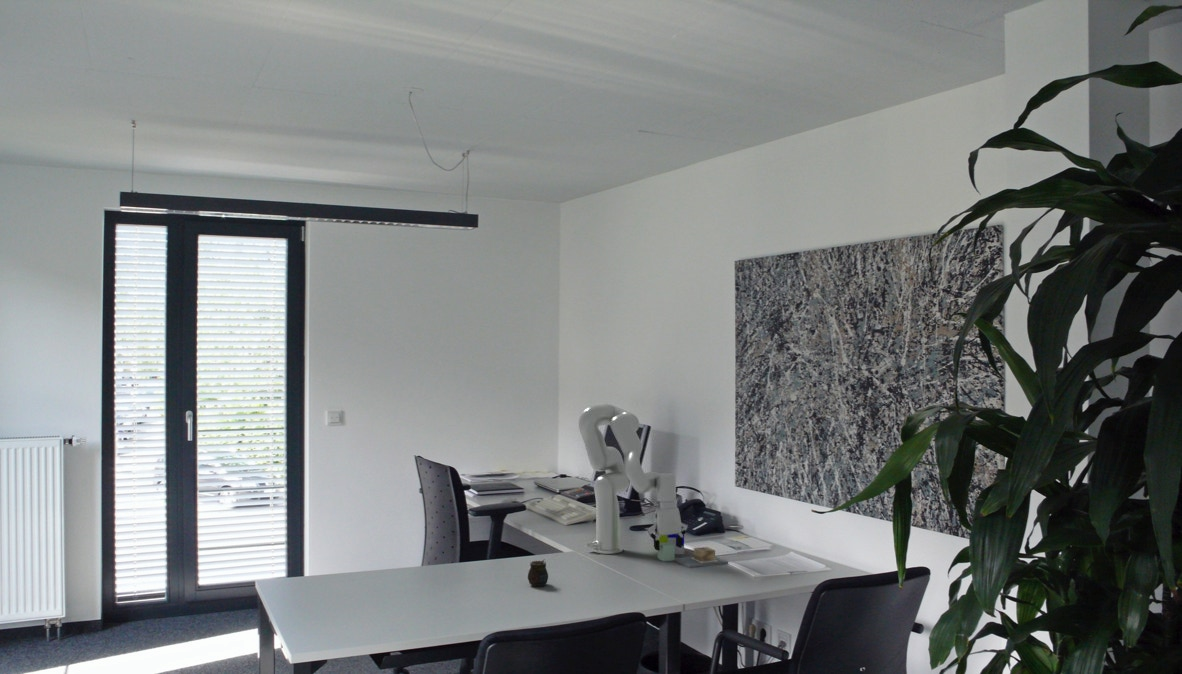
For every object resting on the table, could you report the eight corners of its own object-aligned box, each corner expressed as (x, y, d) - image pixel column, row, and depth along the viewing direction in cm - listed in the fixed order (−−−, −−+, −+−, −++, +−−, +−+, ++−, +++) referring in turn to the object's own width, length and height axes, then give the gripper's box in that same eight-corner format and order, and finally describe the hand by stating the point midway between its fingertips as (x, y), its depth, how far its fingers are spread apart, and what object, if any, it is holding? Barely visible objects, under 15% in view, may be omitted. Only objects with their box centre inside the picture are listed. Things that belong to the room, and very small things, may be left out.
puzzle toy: (684, 554, 355) (684, 529, 355) (659, 554, 355) (659, 529, 355) (682, 548, 365) (682, 524, 365) (658, 548, 365) (658, 524, 365)
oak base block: (701, 561, 338) (701, 551, 338) (694, 558, 344) (694, 548, 344) (715, 560, 340) (715, 550, 341) (707, 557, 346) (707, 546, 346)
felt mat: (689, 567, 333) (689, 565, 333) (674, 560, 344) (674, 558, 344) (728, 563, 339) (728, 561, 339) (712, 556, 350) (712, 554, 350)
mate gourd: (538, 581, 314) (539, 553, 314) (553, 585, 308) (553, 557, 308) (523, 584, 308) (524, 556, 309) (537, 589, 303) (538, 560, 303)
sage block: (663, 561, 343) (663, 545, 343) (657, 558, 348) (657, 543, 348) (674, 560, 345) (674, 544, 345) (668, 557, 350) (668, 542, 350)
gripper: (651, 508, 340) (652, 552, 339) (690, 504, 346) (692, 548, 346) (642, 505, 347) (644, 549, 346) (681, 501, 353) (683, 544, 353)
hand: (668, 548), depth 346 cm, fingers open, 9 cm apart
